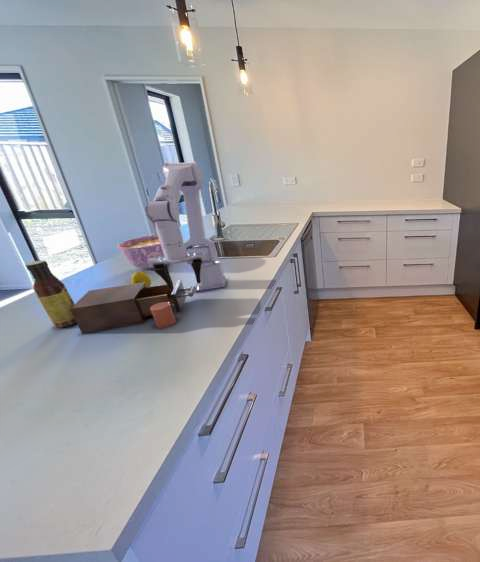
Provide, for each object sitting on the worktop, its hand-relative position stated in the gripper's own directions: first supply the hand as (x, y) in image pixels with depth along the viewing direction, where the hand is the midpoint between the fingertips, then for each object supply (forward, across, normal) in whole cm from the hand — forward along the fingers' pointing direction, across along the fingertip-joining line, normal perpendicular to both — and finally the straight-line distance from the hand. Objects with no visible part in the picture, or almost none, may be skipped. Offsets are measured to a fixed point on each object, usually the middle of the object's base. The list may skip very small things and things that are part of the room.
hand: (185, 284), depth 93 cm
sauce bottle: (+10, -35, +7) cm, 37 cm away
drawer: (+8, -8, +4) cm, 12 cm away
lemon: (+10, -19, +24) cm, 32 cm away
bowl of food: (+10, -22, +54) cm, 59 cm away
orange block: (+9, -7, -6) cm, 13 cm away
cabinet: (+9, -21, +4) cm, 23 cm away
